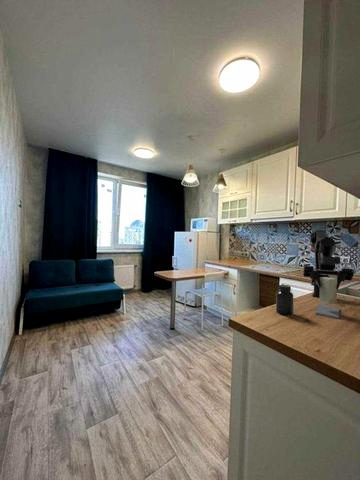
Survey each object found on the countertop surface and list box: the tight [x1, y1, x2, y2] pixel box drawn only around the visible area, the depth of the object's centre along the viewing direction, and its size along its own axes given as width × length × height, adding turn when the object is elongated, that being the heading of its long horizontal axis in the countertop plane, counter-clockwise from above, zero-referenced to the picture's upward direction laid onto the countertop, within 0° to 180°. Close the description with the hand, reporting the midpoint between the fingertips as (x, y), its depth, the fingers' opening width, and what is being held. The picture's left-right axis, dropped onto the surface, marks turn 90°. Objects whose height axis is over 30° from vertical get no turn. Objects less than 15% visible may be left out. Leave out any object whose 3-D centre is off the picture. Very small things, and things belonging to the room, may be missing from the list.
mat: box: [315, 303, 340, 320], centre depth 93 cm, size 14×8×1 cm, turn 142°
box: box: [319, 276, 338, 305], centre depth 92 cm, size 5×4×11 cm
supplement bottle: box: [275, 284, 294, 316], centre depth 91 cm, size 7×7×12 cm
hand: (328, 288), depth 91 cm, fingers closed on box, 6 cm apart
